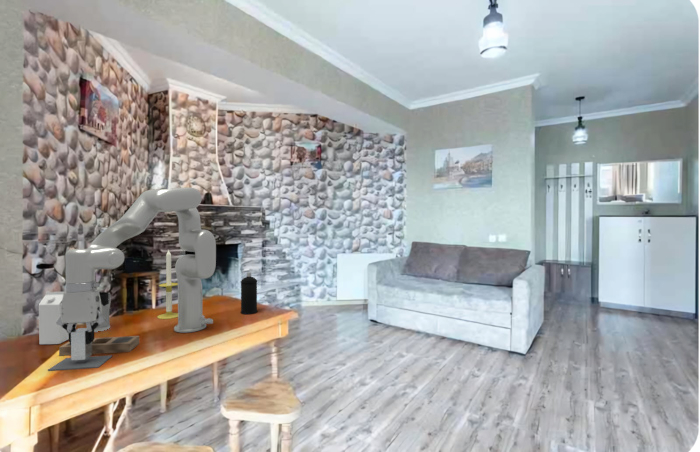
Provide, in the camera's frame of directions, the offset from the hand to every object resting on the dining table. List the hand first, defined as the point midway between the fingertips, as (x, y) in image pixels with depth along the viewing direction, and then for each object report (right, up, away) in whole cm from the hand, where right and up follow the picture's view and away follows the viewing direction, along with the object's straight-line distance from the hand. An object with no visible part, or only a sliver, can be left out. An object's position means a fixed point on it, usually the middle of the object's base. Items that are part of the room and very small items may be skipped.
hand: (81, 342), depth 113 cm
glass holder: (-20, -6, +37) cm, 43 cm away
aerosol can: (+37, -6, +62) cm, 72 cm away
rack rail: (-2, -6, +12) cm, 14 cm away
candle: (0, -6, +54) cm, 54 cm away
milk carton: (-25, -6, +20) cm, 33 cm away
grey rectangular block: (0, -5, 0) cm, 5 cm away
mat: (0, -7, 0) cm, 7 cm away
